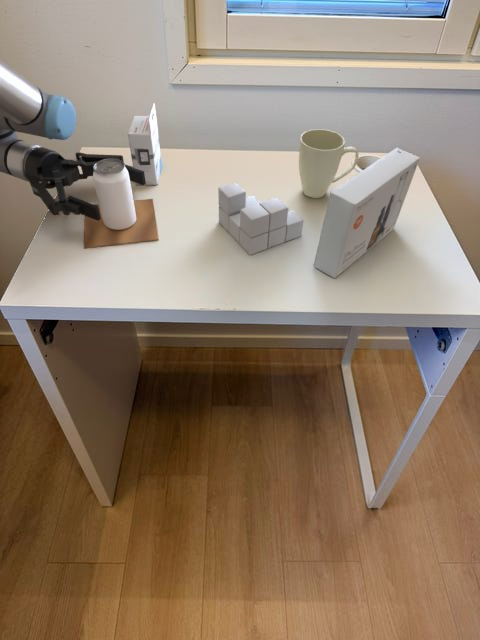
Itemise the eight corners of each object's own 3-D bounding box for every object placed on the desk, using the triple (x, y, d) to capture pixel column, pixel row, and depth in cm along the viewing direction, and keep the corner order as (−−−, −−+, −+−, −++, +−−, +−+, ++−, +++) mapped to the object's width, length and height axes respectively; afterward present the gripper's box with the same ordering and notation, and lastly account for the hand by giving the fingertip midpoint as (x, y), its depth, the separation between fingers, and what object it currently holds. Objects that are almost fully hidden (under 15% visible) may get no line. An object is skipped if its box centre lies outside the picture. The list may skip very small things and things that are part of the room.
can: (143, 218, 94) (134, 163, 85) (121, 235, 90) (109, 179, 81) (119, 208, 96) (108, 153, 87) (96, 224, 92) (83, 168, 83)
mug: (317, 210, 97) (326, 157, 89) (285, 189, 103) (290, 137, 94) (352, 193, 102) (364, 140, 93) (320, 174, 107) (328, 122, 98)
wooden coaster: (83, 248, 88) (83, 247, 87) (85, 206, 97) (84, 205, 97) (158, 240, 90) (158, 239, 89) (152, 199, 99) (152, 198, 99)
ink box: (141, 165, 108) (131, 100, 97) (162, 165, 108) (155, 101, 97) (135, 185, 103) (124, 118, 92) (157, 185, 103) (149, 119, 92)
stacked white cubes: (301, 236, 91) (306, 201, 86) (249, 255, 87) (251, 220, 81) (268, 205, 98) (270, 171, 92) (218, 222, 94) (218, 187, 88)
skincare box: (336, 281, 83) (355, 204, 71) (312, 267, 85) (325, 190, 74) (397, 229, 93) (421, 155, 82) (373, 218, 96) (394, 144, 84)
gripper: (84, 156, 104) (162, 182, 98) (-5, 212, 89) (81, 247, 83) (76, 123, 99) (158, 148, 92) (-20, 177, 84) (70, 211, 77)
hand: (122, 195), depth 87 cm, fingers open, 13 cm apart
